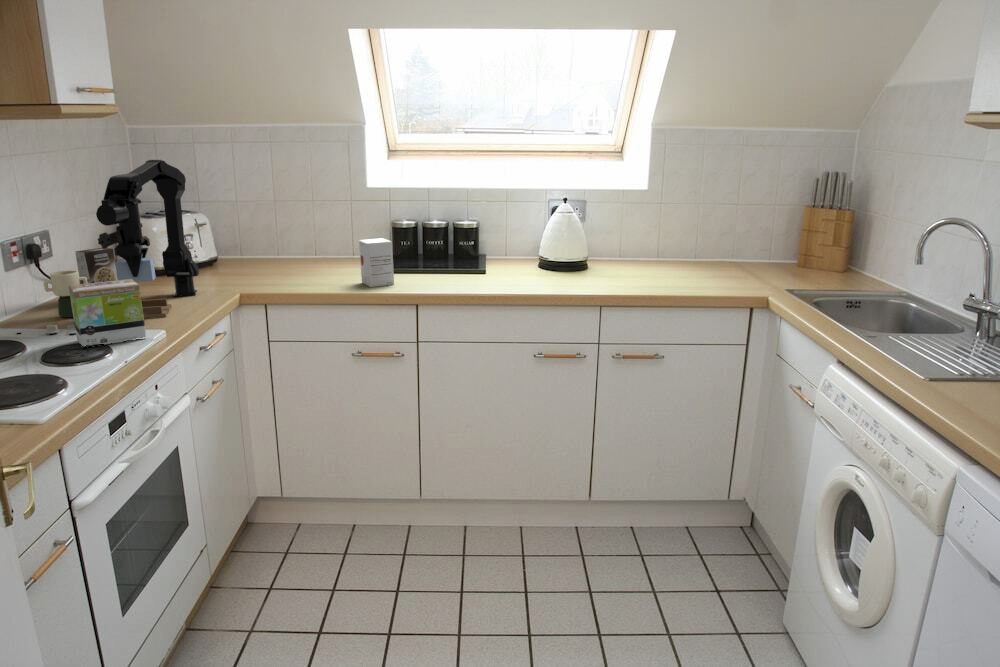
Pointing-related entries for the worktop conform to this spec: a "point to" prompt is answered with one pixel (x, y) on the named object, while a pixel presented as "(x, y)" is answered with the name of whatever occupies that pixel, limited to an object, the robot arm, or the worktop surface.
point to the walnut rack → (155, 308)
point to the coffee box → (96, 265)
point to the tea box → (107, 312)
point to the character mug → (63, 289)
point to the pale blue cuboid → (144, 271)
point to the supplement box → (376, 262)
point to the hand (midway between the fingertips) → (137, 275)
